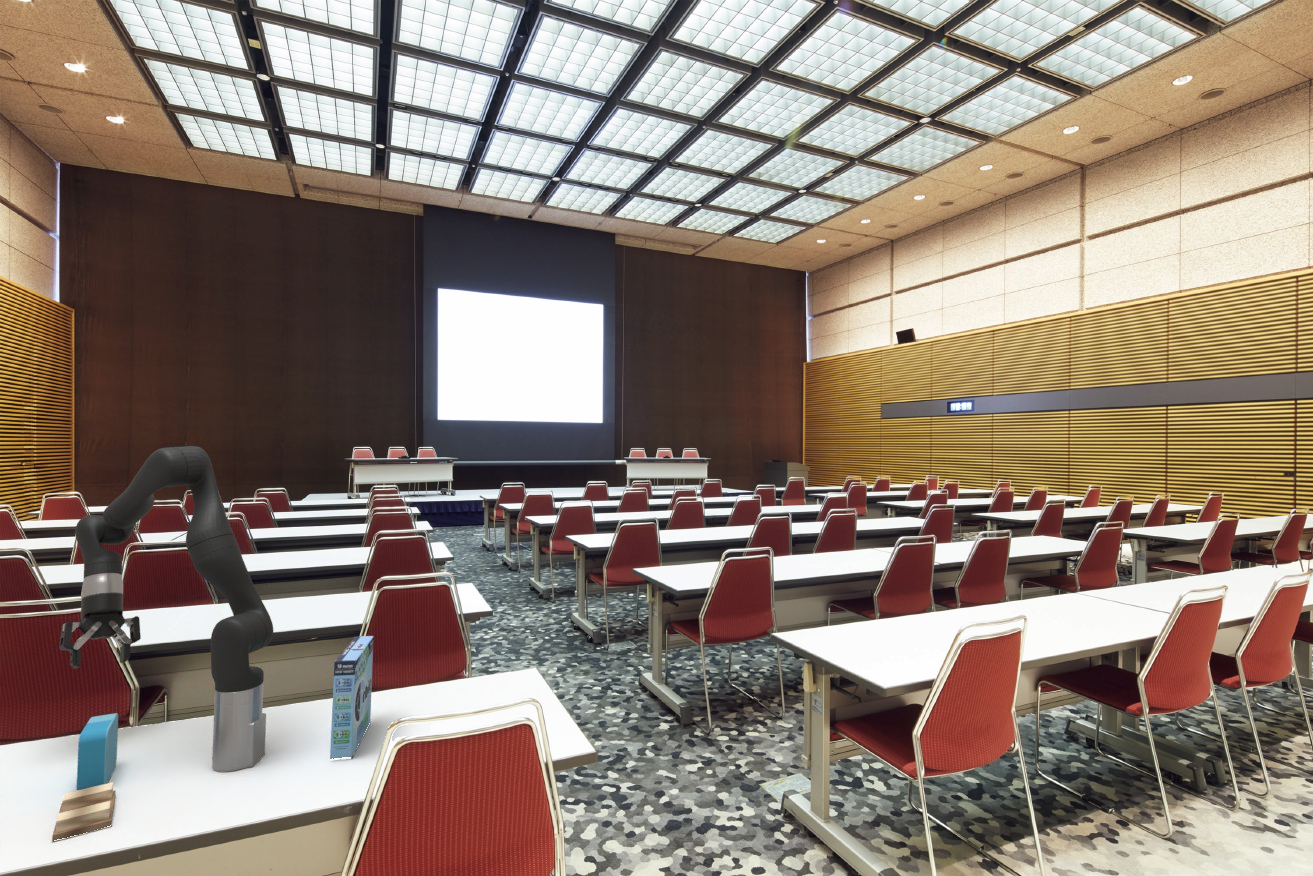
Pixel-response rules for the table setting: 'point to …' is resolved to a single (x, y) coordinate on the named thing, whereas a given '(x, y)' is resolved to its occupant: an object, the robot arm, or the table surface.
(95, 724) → the data package
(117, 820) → the table surface
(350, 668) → the blue product box
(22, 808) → the table surface
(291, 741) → the table surface
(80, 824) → the display stand
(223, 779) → the table surface
